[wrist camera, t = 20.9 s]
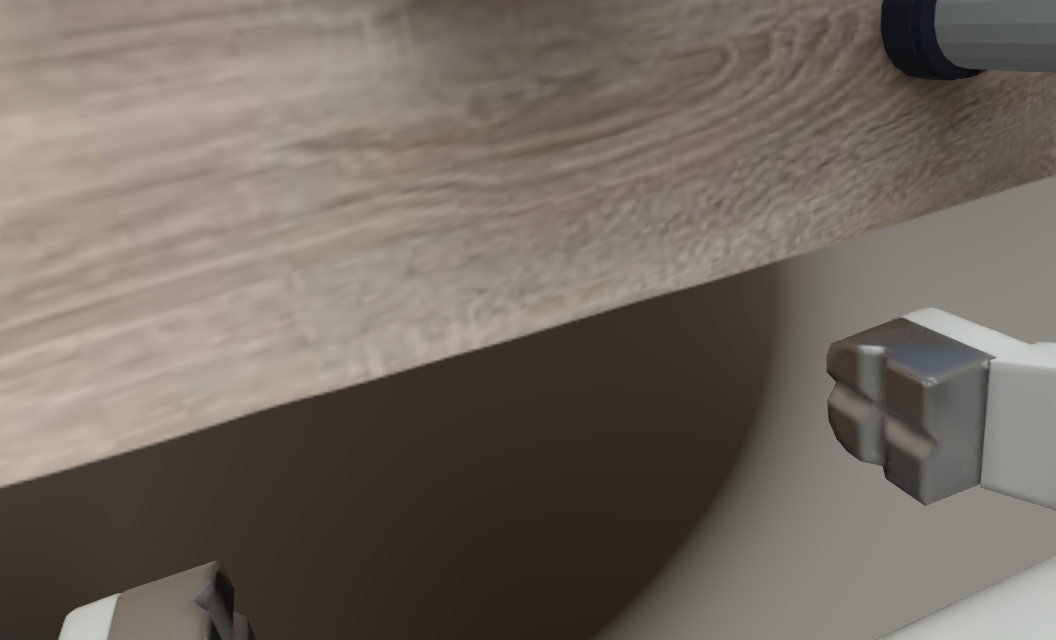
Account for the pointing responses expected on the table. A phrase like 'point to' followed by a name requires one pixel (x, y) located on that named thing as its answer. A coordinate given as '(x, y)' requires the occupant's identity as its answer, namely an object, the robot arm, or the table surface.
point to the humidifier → (969, 36)
